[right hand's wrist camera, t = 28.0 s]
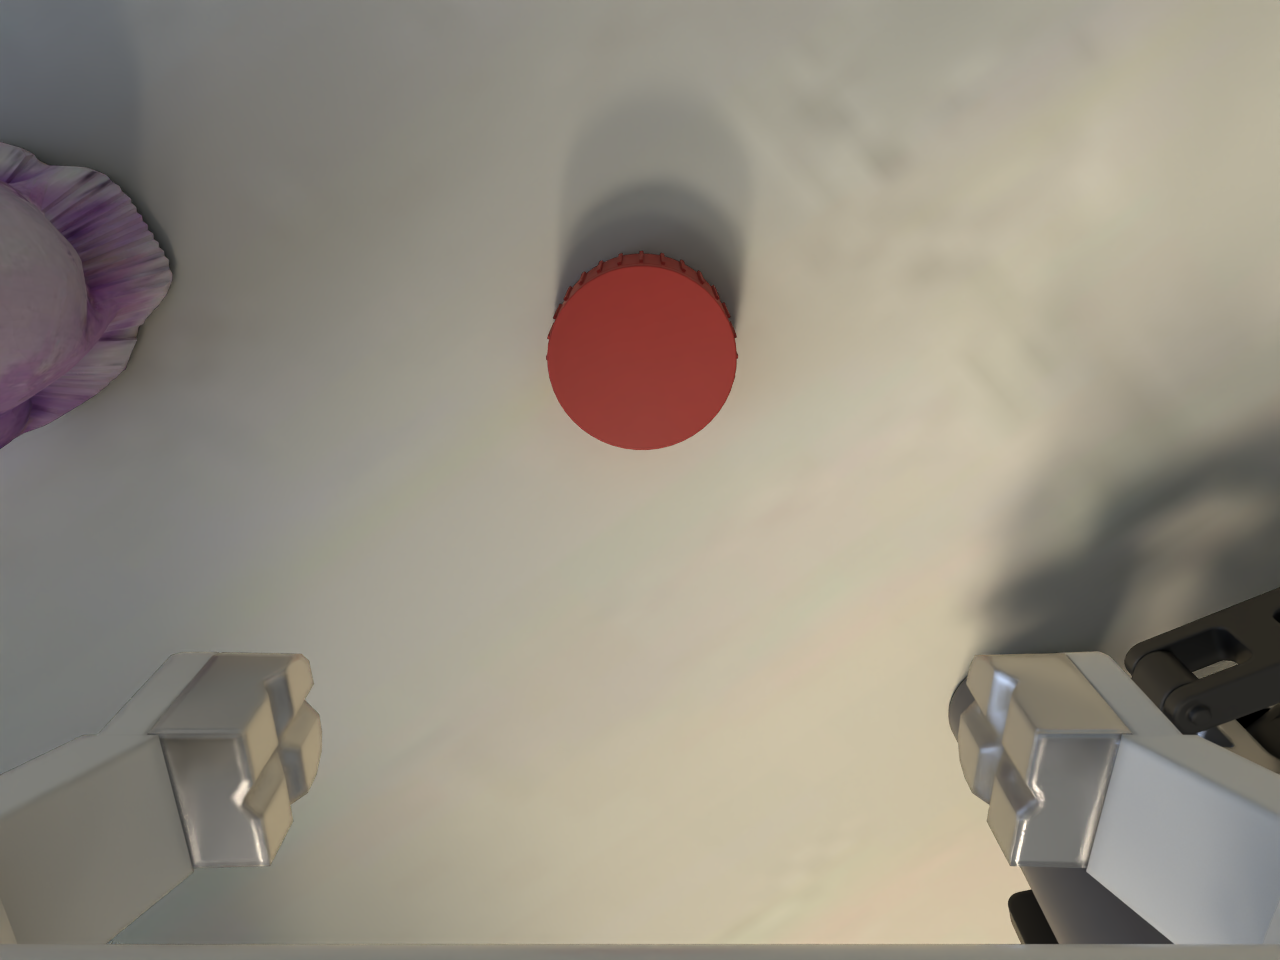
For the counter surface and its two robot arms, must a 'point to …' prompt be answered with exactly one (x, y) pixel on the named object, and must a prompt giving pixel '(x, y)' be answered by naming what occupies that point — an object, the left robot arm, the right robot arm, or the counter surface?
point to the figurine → (67, 287)
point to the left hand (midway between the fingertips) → (1008, 864)
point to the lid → (642, 352)
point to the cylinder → (1074, 889)
